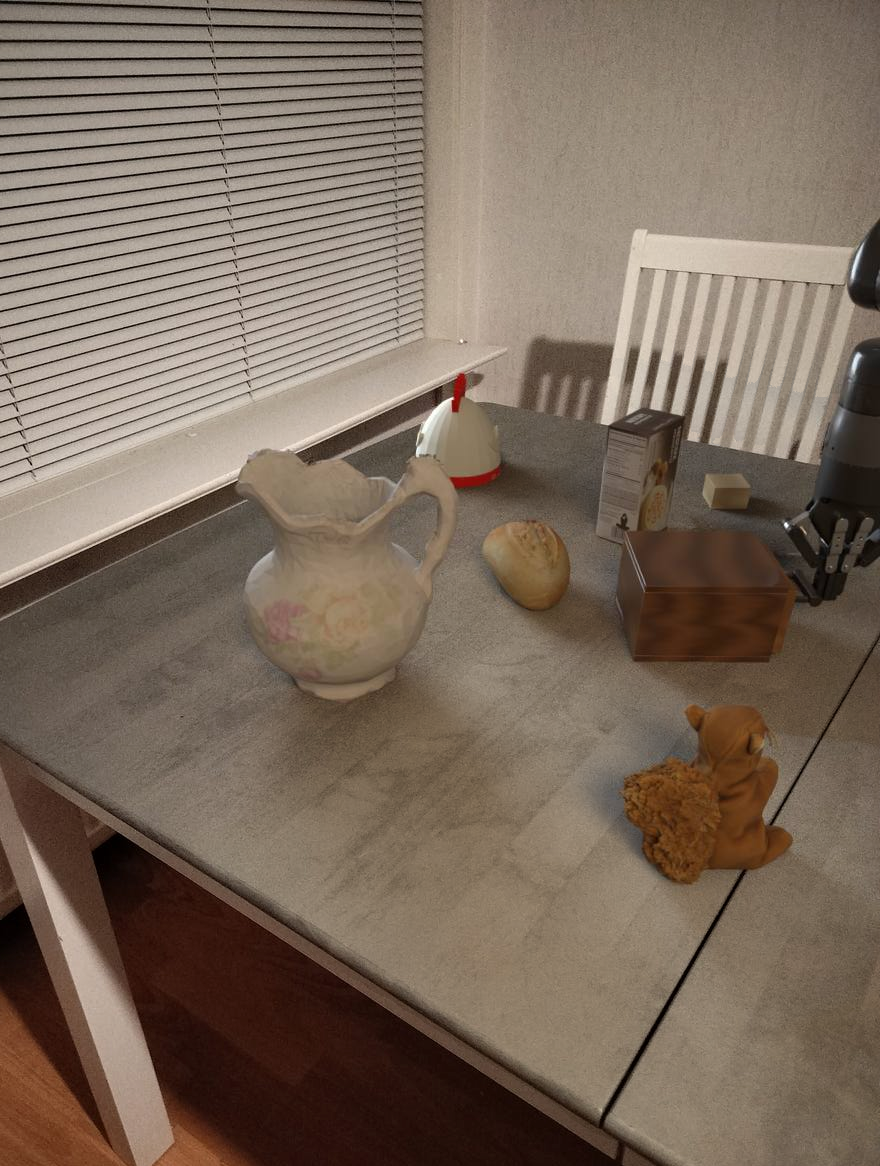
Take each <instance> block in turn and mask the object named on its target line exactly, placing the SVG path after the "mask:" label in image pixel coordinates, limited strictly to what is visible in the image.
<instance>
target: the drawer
mask: <svg viewBox="0 0 880 1166" xmlns="http://www.w3.org/2000/svg"><path fill="white" fill-rule="evenodd" d="M759 540H760V539H759ZM760 542H761V544H762V545H763V547H764V548H765V550H766V551H767V553H768V554H769V556H770V557H771V559H772V560H773V562H774V563H775V565H776V566H777V568H778V569H779V571H780V573H781V574H782V576H783V577H784V579H785V580H786V582H787V583H788V585H789V586H790V587H789V591H788V595H787V598H786V602H785V606H784V609H783V613H782V617H781V620H780V624H779V628H778V631H777V635H776V639H775V642H774V646H773V650H772V653H781V652H782V648H783V645H784V641H785V638H786V634H787V631H788V627H789V623H790V620H791V617H792V612H793V609H794V605H795V604H808V605H809V606H810V607H811V608H816V607H819V606H820V605H822V603H823V602H824V601H823V600H822V597H821V596H820V595H819V593H818V592H817V590H816V589H815V587H814V586H813V585H812V584H813V582H811V580H810V579H809V578H808V576H807V574H806V573H805V572H804V570H803V569H800V568H797V569H793V571H792V572H786V571H785V570H784V569H783V567H782V566H781V564H780V563H779V561H778V560H777V558H776V556H775V555H774V554H773V552H772V551H771V548H770V547H769V546H768V544H767V543H766V541H765V540H763V539H761V540H760ZM793 583H794V584H795V585H794V584H793ZM796 587H797V588H798V589H797V588H796ZM798 590H799V592H800V593H801V594H802V595H798Z"/></svg>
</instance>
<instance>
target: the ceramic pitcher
mask: <svg viewBox="0 0 880 1166" xmlns="http://www.w3.org/2000/svg"><path fill="white" fill-rule="evenodd" d="M285 449H286V450H279V449H271V448H269V447H268V448H266V447H265V448H262V449H260V450H255V451H254V452H253V453H251V454H248V455H247V456H248V457H247V459H246V463H245V464H244V465H243V466H241V468H240V471H239V473H238V476H237V483H236V484H235V486H234V491H235V493H236V494H237V495H238V496H239V497H242V498H243V499H244V500H247V501H248V502H251V503H252V504H254V505H256V506H257V507H258V508H259V509H260V511H261V512H262V513H263V515H264V516H265V517H266V518H267V520H268V522H269V523H270V525H271V527H272V530H273V536H274V543H275V544H274V548H273V549H272V550H271V551H270V552H269V553H267V554H266V555H265V556H263V557H262V558H260V559H259V560H258V561H257V562H256V563H255V564H254V565H253V567H252V569H251V570H250V572H249V573H248V577H247V578H246V582H245V585H244V592H243V611H244V617H245V622H246V626H247V628H248V632H249V635H250V637H251V639H252V641H253V643H254V644H255V646H256V648H258V650H259V651H260V652H261V654H262V655H263V656H264V657H265V658H266V659H267V660H268V661H269V662H270V663H271V664H273V665H274V666H275V667H277V668H279V669H280V671H281V670H282V672H284V673H286V674H287V675H290V676H291V677H292V678H293V681H294V682H295V684H296V686H297V688H298V689H300V690H301V691H302V692H304V693H306V694H308V695H310V696H312V697H314V698H317V699H323V700H327V701H333V702H337V703H342V704H345V703H348V702H350V701H352V700H356V699H358V698H360V697H363V696H367V695H368V694H372V693H374V692H376V691H379V690H380V689H382V688H383V687H385V686H386V685H387V684H390V683H391V682H393V681H395V678H396V670H397V665H398V664H399V663H400V662H401V661H402V660H404V658H405V657H406V656H407V655H408V654H409V653H411V651H412V650H413V649H414V648H415V646H416V645H417V643H418V642H419V639H420V638H421V637H422V634H423V631H424V629H425V626H426V623H427V621H428V620H427V618H428V611H429V607H430V606H431V604H432V602H433V601H434V574H435V572H436V570H437V569H438V567H439V566H441V564H442V563H443V561H444V559H445V556H446V554H447V553H448V549H449V547H450V545H451V543H452V540H453V538H454V536H455V533H456V531H457V526H458V517H459V495H458V493H457V491H456V487H454V485H453V483H452V482H451V480H450V478H449V476H448V475H447V473H446V472H445V469H444V466H442V465H443V464H442V463H443V462H440V460H437V459H436V455H433V459H431V458H429V459H428V458H427V457H428V456H429V457H432V456H431V455H430V454H419V457H417V456H416V453H415V454H414V455H412V456H411V457H410V458H408V459H405V460H403V461H402V462H403V465H404V464H405V465H406V470H405V471H404V472H403V474H402V475H401V478H400V480H399V481H398V482H397V483H395V482H394V481H392V480H390V479H389V478H387V477H386V476H370V477H367V476H366V475H364V473H362V472H361V471H359V470H358V469H356V468H355V467H353V466H352V465H351V464H349V463H348V462H347V461H346V460H344V459H342V458H336V459H333V460H332V459H321V460H318V461H315V462H312V463H311V462H310V463H309V464H307V463H306V462H303V460H302V459H301V458H300V457H299V456H298V455H297V453H295V452H294V451H292V450H291V449H289V448H285ZM435 459H436V460H435ZM425 495H426V496H429V497H432V498H434V502H435V509H436V521H437V522H436V524H435V526H434V530H433V532H432V533H431V536H430V538H429V540H428V542H427V544H426V546H425V548H424V553H423V556H422V560H421V561H420V562H419V561H418V560H417V559H415V557H414V556H413V555H412V554H410V552H408V551H407V550H406V549H405V548H404V547H402V546H401V545H398V544H396V543H394V542H392V541H391V537H390V531H391V518H392V515H393V513H394V512H396V511H398V510H400V509H401V508H402V507H403V506H405V504H407V503H408V502H410V501H411V500H414V499H416V498H418V497H422V496H425Z"/></svg>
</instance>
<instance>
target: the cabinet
mask: <svg viewBox="0 0 880 1166" xmlns="http://www.w3.org/2000/svg"><path fill="white" fill-rule="evenodd" d="M620 555H621V556H620V563H619V568H618V569H619V570H618V575H617V576H618V577H617V584H616V592H615V597H614V598H615V599H614V602H615V605H616V609H617V612H618V616H619V618H620V622H621V625H622V629H623V632H624V634H625V637H626V638H625V639H626V641H627V644H628V648H629V651H630V654H631V657H632V660H633V662H679V663H681V662H684V663H685V662H686V663H687V662H690V663H691V662H692V663H693V662H695V663H697V662H701V663H702V662H703V663H769V662H770V661H771V657H772V653H773V652H772V650H773V646H774V642H775V639H776V635H777V631H778V628H779V624H780V620H781V617H782V613H783V609H784V606H785V602H786V598H787V595H788V591H789V587H790V586H789V585H788V583H787V582H786V580H785V579H784V577H783V576H782V574H781V573H780V571H779V569H778V568H777V566H776V565H775V563H774V562H773V560H772V559H771V557H770V556H769V554H768V553H767V551H766V550H765V548H764V547H763V545H762V544H761V542H760V539H759V538H758V536H757V534H756V533H755V531H754V530H660V531H625V533H624V540H623V544H622V548H621V553H620Z"/></svg>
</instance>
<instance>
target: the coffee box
mask: <svg viewBox="0 0 880 1166" xmlns="http://www.w3.org/2000/svg"><path fill="white" fill-rule="evenodd" d="M685 420H686V416H685V415H682V414H681V415H680V414H676V413H672V412H671V413H670V412H667V411H663V410H657V409H654V408H649V407H640V408H638V409H636V410H635V411H633V412H631V413H629V414H627V415H624V416H623V417H621V418H619V419H618V420H616V421H614V422H611V423H609V424H608V425H607V431H606V432H607V433H606V434H607V435H606V440H605V442H606V443H605V452H604V459H603V466H602V467H603V468H602V477H601V487H600V495H599V504H598V514H597V521H596V528H595V529H596V530H595V535H596V536H597V537H599V538H602V539H605V540H608V541H611V542H614V543H616V544H617V543H618V544H620V545H623V540H624V533H625V531H663V529H665V528H666V527H667V526H668V523H669V517H670V510H671V505H672V498H673V493H674V486H675V481H676V475H677V467H678V462H679V457H680V450H681V444H682V438H683V432H684V425H685Z"/></svg>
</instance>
